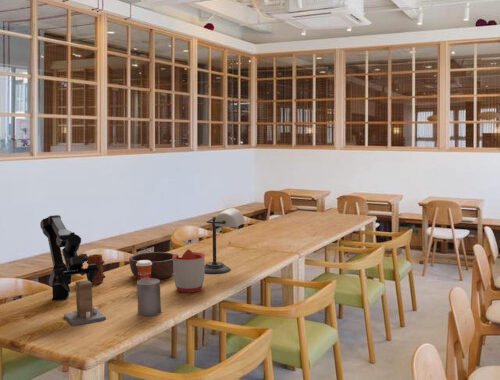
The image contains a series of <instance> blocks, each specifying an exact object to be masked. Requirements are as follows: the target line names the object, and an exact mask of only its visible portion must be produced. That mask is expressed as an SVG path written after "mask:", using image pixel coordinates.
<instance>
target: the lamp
mask: <svg viewBox="0 0 500 380" xmlns="http://www.w3.org/2000/svg"><path fill="white" fill-rule="evenodd" d="M245 222H246V220H245V218H244V215H243V213H242V212H241V211H240V210H238V209H237V208H234V207H230V208H227V209H225V210H223V211H221V212H219V213H218V214H217V215H216V216H213V217H211V218H210V219H208V220H206V223H207V224H212V226H211V227H212V229H211V230H212V261H210V262H206V263H204V266H205V274H204V275H220V274H221V275H222V274H226V273H229V272H231V271H232V269H231V268H230V266H228V265H226V264H224V263H223V262H221V261H217V227H223V228H224V227H225V228H229V232H231V228H238V227H240V226H241V225H242V224H244V223H245ZM231 243H232V242H231V241H228V244H229V245H230V244H231Z"/></svg>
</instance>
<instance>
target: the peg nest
mask: <svg viewBox="0 0 500 380" xmlns="http://www.w3.org/2000/svg"><path fill="white" fill-rule="evenodd" d="M64 318H65V319H66V320H67V321H68V323H71V325H72V326H79V325H80V326H81V325H85V324H90V323H95V322H101V321H106V319H107V317H106V316H105V315H104V314H103V313H101V312H100V311H99V310H98V307H97V306H93V316H90V312H86V317H85V318H80V317H79V316H78V315H77V310H73V311H71V312H69V313H64Z"/></svg>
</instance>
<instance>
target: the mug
mask: <svg viewBox="0 0 500 380" xmlns="http://www.w3.org/2000/svg"><path fill="white" fill-rule="evenodd" d="M82 254H83V253H80V254H78V256H81V255H82ZM87 257H88V261H86V264H87V266H88V265H90V264H97V265H98V267H99V269H98V272H97V274H96V275H95V276H94V277H93V279H92V285H93V284H95V285H96V284H101V283H102V282H104V279H105V278H106V275H105V274H104V266H103V265H104V264H105V261H104V259H103V254H97V253H95V254H90V255H89V256H88V255H87ZM81 268H82V269H84V266H83V267H81ZM79 275H81V276H85V275H86V277H87V274H86V273H82V274H79Z"/></svg>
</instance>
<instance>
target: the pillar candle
mask: <svg viewBox="0 0 500 380" xmlns="http://www.w3.org/2000/svg"><path fill="white" fill-rule="evenodd" d="M136 291H137V292H136V293H137V295H136V296H137V314H138V315H140V316H143V317H146V316H148V317H149V316H150V317H151V316H156V315H159V314H160V313H162V304H161V303H162V302H161V300H162V299H161V298H162V297H161V279H155V278H146V279H141V280H138V279H137V282H136Z"/></svg>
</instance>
